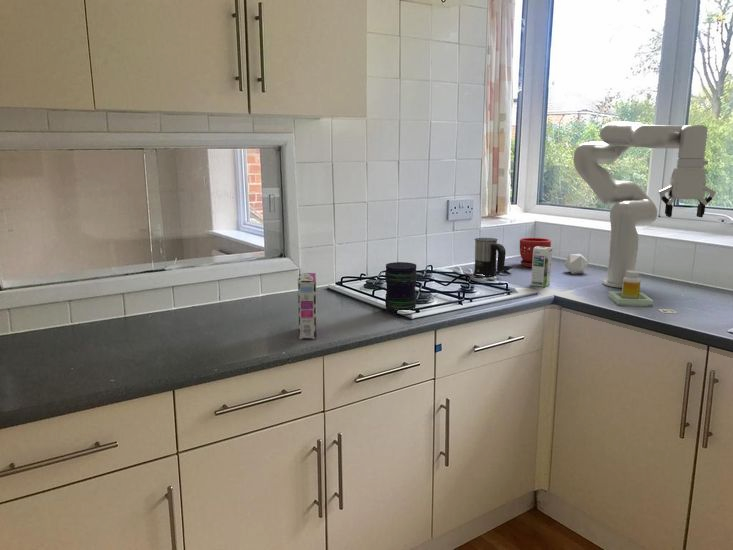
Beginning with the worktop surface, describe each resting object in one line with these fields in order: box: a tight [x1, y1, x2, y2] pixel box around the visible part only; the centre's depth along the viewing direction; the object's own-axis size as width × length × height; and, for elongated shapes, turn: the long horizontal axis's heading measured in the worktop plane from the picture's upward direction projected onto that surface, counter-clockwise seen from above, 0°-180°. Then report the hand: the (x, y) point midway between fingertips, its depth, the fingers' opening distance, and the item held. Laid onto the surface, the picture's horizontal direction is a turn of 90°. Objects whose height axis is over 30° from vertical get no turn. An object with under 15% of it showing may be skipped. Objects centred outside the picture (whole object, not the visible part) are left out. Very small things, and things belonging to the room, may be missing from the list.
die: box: [564, 253, 589, 275], centre depth 237 cm, size 8×9×10 cm
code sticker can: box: [657, 308, 677, 314], centre depth 181 cm, size 4×4×1 cm
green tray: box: [607, 291, 654, 307], centre depth 193 cm, size 11×11×2 cm
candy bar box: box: [297, 272, 318, 341], centre depth 159 cm, size 11×5×16 cm, turn 5°
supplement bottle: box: [621, 270, 641, 299], centre depth 192 cm, size 5×5×10 cm
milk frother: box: [473, 237, 515, 277], centre depth 235 cm, size 14×16×15 cm
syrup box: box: [530, 246, 553, 288], centre depth 215 cm, size 6×6×14 cm
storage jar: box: [384, 261, 418, 316], centre depth 181 cm, size 10×10×15 cm
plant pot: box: [519, 237, 552, 268], centre depth 251 cm, size 13×13×12 cm
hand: (684, 216), depth 190 cm, fingers open, 9 cm apart
